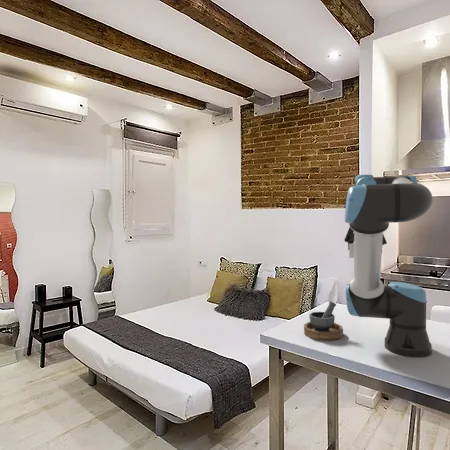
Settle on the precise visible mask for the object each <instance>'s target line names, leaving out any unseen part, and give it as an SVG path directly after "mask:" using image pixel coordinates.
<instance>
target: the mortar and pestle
mask: <svg viewBox="0 0 450 450" xmlns="http://www.w3.org/2000/svg"><path fill="white" fill-rule="evenodd" d="M336 306H337V304H336V303H335V302H333V301H329V303H328V305H327V308H326V309H325V311H313V312H311V313H309V322H311V324H312V325H313V327H314V331H318V332H330V328H331V327H332V326H333V324H334V323H335V315H334V314H333V312H334V309H335V308H336Z"/></svg>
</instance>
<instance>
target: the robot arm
mask: <svg viewBox="0 0 450 450" xmlns="http://www.w3.org/2000/svg"><path fill="white" fill-rule="evenodd" d="M432 205H433V194H432V192H431V190H430V189H429V188H428V187H426V186H425V185H424V184H421V183H418V179H417V177H416V176H415V175H406V174H405V175H396V176H395V175H394V176H374V175H373V174H358V175H356V176H355V179H354V185H351V186H350V187H349V188H348V190H347V194H346V199H345V209H344V222H345V223H346V224H349V228H348V230H347V233H346V235H345V237H344V242H345V243H347V244H348V245H347V247H348V248H347V251H348V254H349V255H348V257H349V259H353V277H352V279H351V280H350V282H349V283H348V284H346V285H345V299H346V308H347V312H348V314H349V315H350V316H354V317H359V318H373V319H376V318H377V319H389V326H388V328H387V332H386V336H385V337H384V343H383V344H384V347H385V348H386V349H387V350H388V351H390V352H392V353H393V354H394V353H395V354H397V355H402V356H406V357H413V358H419V357H422V358H423V357H428V356H430V355H431V354H432V351H433V346H432V343H431V341H430V338H429V337H430V336H429V334H428V331H427V303H428V301H427V293H426V290H425V289H424V288H423V287H421V286H419V285H417V284H416V285H415V284H413V283H408V282H403V281H391V282H389V285H384V283H383V281H382V280H381V272H382V271H381V269H382V255H383V245H387V244H388V243H387V240H386V237H385V236H384V232H386V231H387V230H388V229H389V227H390V226H389V225H390V223H407V222H410V221H413V220H416V219H419V218H420V217H422V216H424V215H425V214H427V212H428V211H429V210H430V209H431V207H432Z"/></svg>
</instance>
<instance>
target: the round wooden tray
mask: <svg viewBox="0 0 450 450" xmlns="http://www.w3.org/2000/svg"><path fill="white" fill-rule="evenodd" d="M303 330H304V331H303V332H304V335H305V336H306V337H308V338H309V339H313V340H316V341H323V342H325V341H327V342H328V341H329V342H330V341H337V340H340V339H342V337H343V334H344V328H343V326H342V325H341V324H339V323H336V322H334V324H333V326H332V327H331V328H330V332H318V331H314V327H313V325H312V324H311V322H310V321H308V322H306V323H304V324H303Z"/></svg>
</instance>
